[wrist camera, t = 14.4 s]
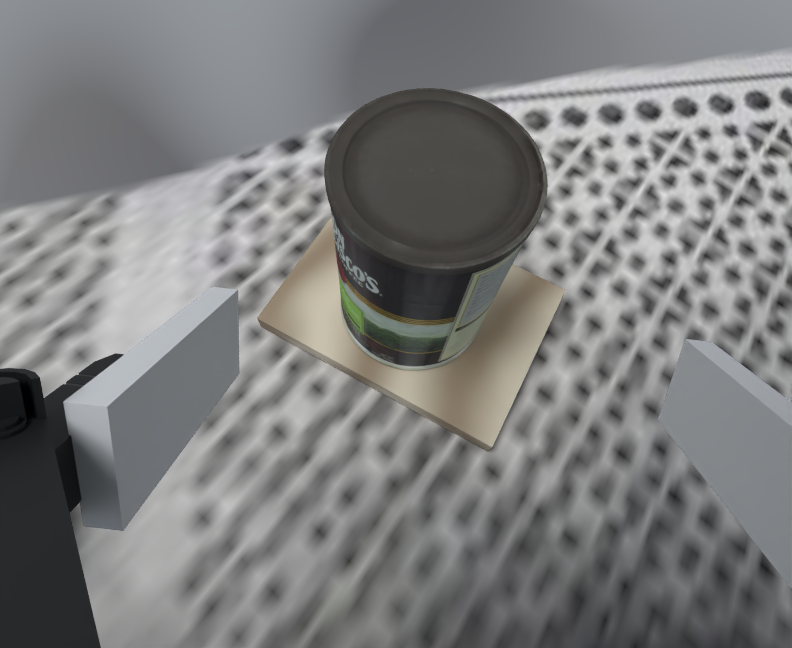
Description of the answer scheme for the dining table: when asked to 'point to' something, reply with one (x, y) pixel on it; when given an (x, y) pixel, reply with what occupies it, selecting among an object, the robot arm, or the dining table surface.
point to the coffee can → (428, 219)
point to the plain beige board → (431, 388)
